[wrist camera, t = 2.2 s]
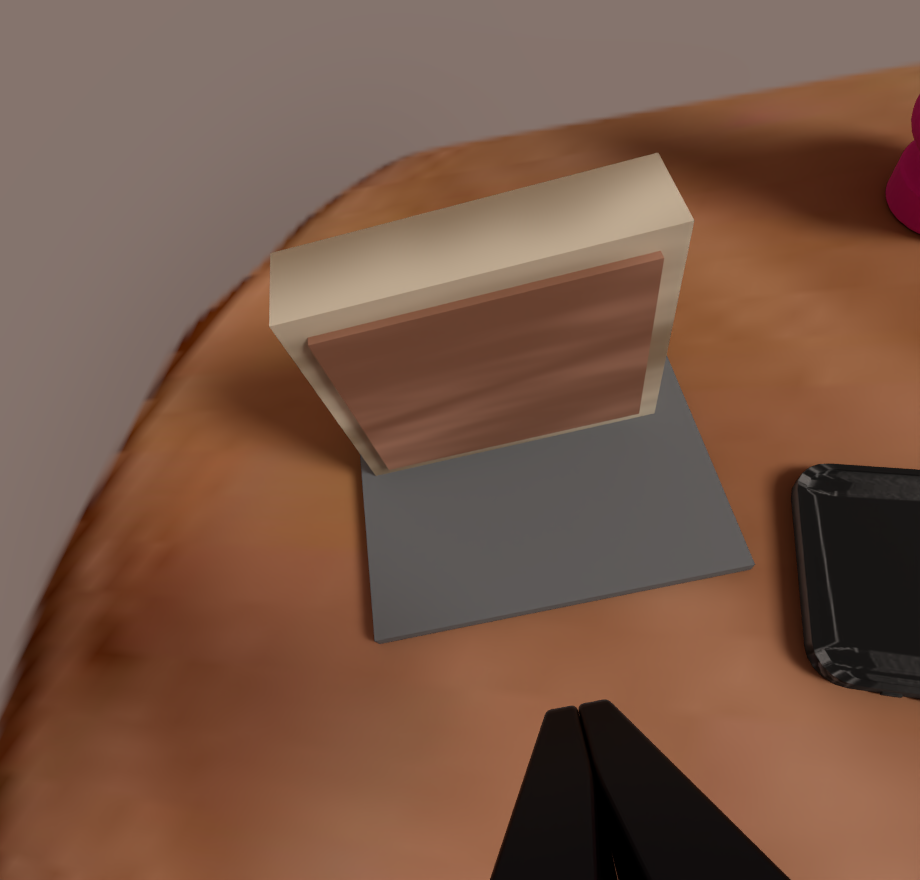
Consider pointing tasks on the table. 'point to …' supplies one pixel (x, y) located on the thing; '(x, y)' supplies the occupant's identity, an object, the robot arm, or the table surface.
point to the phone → (860, 575)
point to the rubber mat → (548, 524)
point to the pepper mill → (907, 180)
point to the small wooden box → (490, 315)
